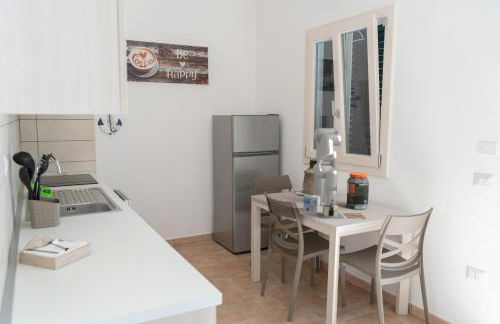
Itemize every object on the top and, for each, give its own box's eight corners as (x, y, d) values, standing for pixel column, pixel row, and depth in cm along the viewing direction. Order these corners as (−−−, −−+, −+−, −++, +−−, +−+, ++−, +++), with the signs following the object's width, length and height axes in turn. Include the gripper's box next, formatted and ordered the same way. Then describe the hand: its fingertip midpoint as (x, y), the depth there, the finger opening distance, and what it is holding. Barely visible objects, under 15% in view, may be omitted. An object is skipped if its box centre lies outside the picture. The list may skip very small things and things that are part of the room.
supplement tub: (367, 205, 298) (369, 172, 295) (368, 210, 283) (369, 175, 280) (346, 204, 302) (347, 171, 299) (345, 209, 287) (347, 174, 284)
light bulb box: (302, 210, 282) (303, 195, 280) (306, 208, 287) (306, 194, 286) (317, 212, 277) (317, 197, 275) (320, 210, 282) (320, 195, 281)
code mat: (315, 213, 273) (315, 212, 273) (339, 213, 273) (339, 213, 273) (319, 218, 259) (319, 218, 259) (344, 219, 259) (344, 218, 259)
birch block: (322, 214, 269) (322, 204, 268) (335, 214, 269) (335, 204, 268) (324, 216, 263) (324, 206, 262) (337, 216, 263) (338, 206, 262)
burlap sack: (323, 198, 323) (324, 160, 319) (295, 195, 334) (296, 158, 330) (330, 193, 345) (331, 157, 341) (303, 190, 356) (304, 155, 352)
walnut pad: (343, 214, 272) (343, 213, 272) (360, 214, 273) (360, 213, 272) (348, 218, 260) (348, 217, 260) (366, 218, 261) (366, 217, 261)
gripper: (323, 186, 272) (322, 211, 275) (328, 191, 255) (327, 217, 257) (333, 186, 272) (332, 211, 275) (339, 191, 255) (338, 217, 258)
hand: (330, 214), depth 266 cm, fingers closed on birch block, 6 cm apart
